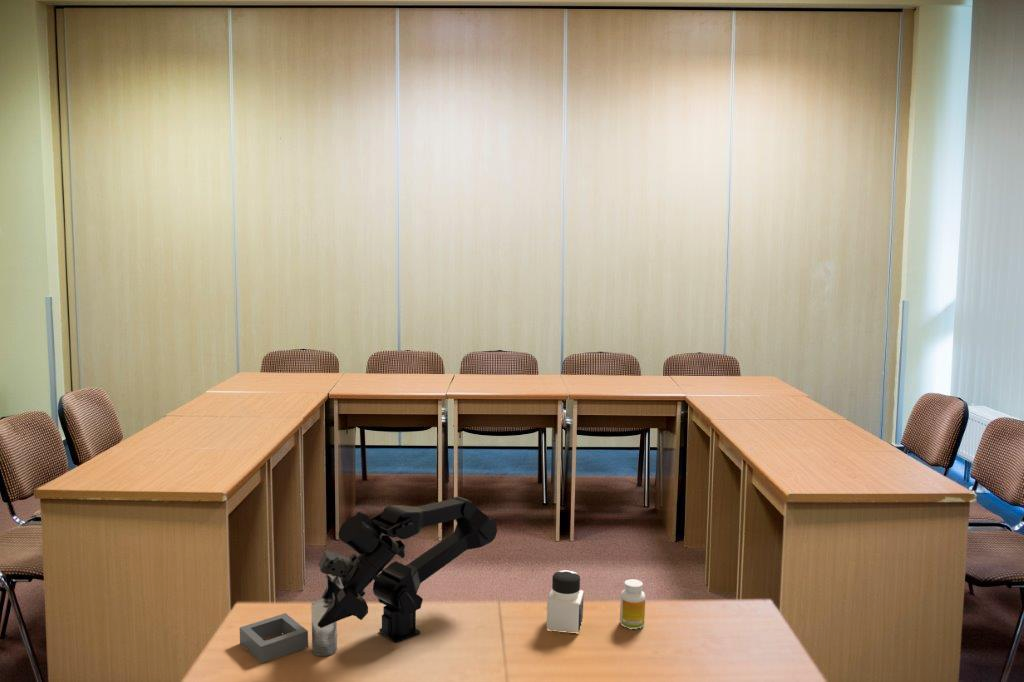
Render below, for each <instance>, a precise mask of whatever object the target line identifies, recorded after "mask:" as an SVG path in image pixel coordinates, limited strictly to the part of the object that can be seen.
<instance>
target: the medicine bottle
mask: <svg viewBox="0 0 1024 682" xmlns="http://www.w3.org/2000/svg"><path fill="white" fill-rule="evenodd" d="M551 577H552V581H551V582H552V583H551V584H552V585H551V590H550V593H549V595H548V599H547V602H546V603H547V604H546V630H547V629H549V630H556V631H566V632H579V631H580V632H581V628H580V626H581V627H582V624H581V622H582V623H583V620H584V596H585V594H584V590H582V589H581V576H580V575H579V573H577V572H575V571H572V570H567V569H566V570H565V569H563V570H558V571H556V572H554V574H552V576H551ZM582 619H583V620H582ZM580 632H579V633H580Z"/></svg>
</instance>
